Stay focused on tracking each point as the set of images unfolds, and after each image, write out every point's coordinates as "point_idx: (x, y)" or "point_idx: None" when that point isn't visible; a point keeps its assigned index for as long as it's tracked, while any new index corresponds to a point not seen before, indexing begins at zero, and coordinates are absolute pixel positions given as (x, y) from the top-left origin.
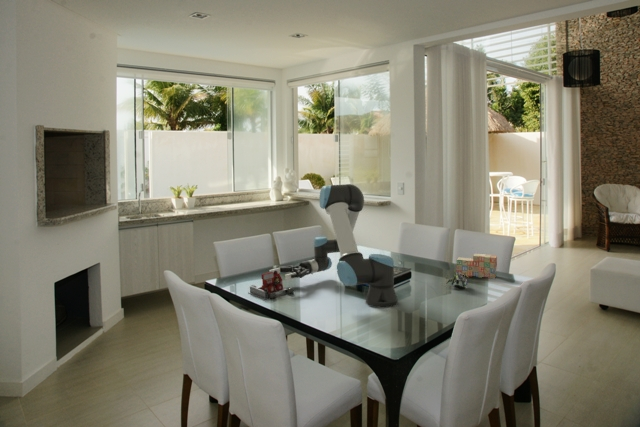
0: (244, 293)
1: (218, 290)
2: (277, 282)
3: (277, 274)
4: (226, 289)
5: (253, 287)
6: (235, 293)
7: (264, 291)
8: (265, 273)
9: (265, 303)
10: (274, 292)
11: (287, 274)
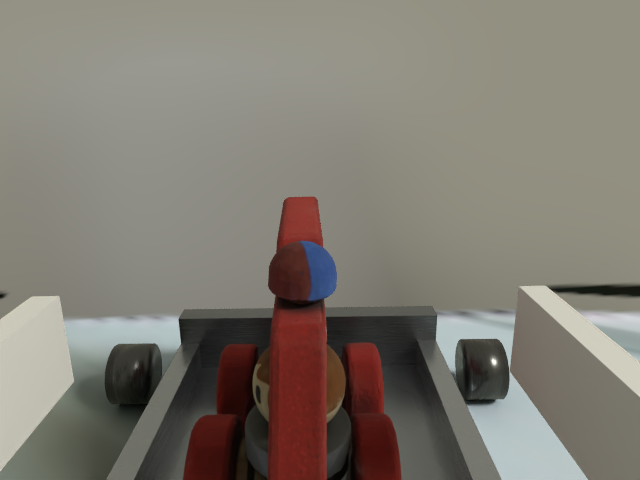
0: (445, 342)
1: (609, 295)
2: (263, 421)
3: (273, 314)
4: (621, 318)
5: (378, 308)
6: (481, 318)
7: (203, 312)
8: (304, 204)
9: (120, 338)
10: (157, 391)
11: (14, 316)
